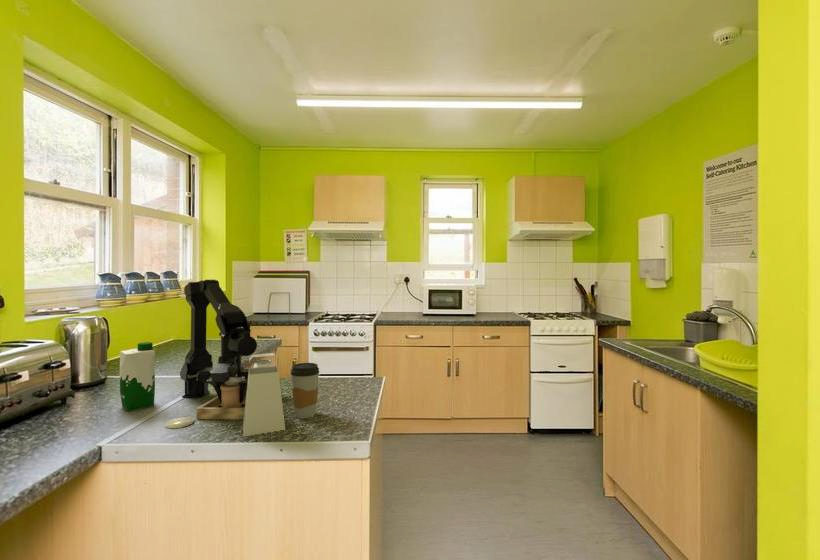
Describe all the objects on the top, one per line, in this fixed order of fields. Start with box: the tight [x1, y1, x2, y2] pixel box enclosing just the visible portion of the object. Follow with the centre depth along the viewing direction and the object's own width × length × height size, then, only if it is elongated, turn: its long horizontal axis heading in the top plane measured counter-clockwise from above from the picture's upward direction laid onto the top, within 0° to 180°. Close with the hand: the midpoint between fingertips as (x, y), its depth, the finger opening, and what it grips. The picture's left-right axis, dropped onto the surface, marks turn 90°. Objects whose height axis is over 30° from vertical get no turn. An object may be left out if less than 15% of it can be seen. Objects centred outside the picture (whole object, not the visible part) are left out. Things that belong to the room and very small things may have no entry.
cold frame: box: [196, 367, 251, 420], centre depth 122 cm, size 16×14×12 cm
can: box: [253, 359, 274, 368], centre depth 137 cm, size 6×6×12 cm
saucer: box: [164, 416, 195, 429], centre depth 112 cm, size 7×7×1 cm
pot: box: [220, 382, 243, 408], centre depth 120 cm, size 6×6×7 cm
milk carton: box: [119, 341, 156, 412], centre depth 126 cm, size 9×9×20 cm
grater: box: [242, 352, 286, 437], centre depth 110 cm, size 10×10×20 cm
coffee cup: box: [290, 362, 320, 420], centre depth 118 cm, size 8×8×15 cm
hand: (231, 402), depth 120 cm, fingers closed on pot, 6 cm apart
